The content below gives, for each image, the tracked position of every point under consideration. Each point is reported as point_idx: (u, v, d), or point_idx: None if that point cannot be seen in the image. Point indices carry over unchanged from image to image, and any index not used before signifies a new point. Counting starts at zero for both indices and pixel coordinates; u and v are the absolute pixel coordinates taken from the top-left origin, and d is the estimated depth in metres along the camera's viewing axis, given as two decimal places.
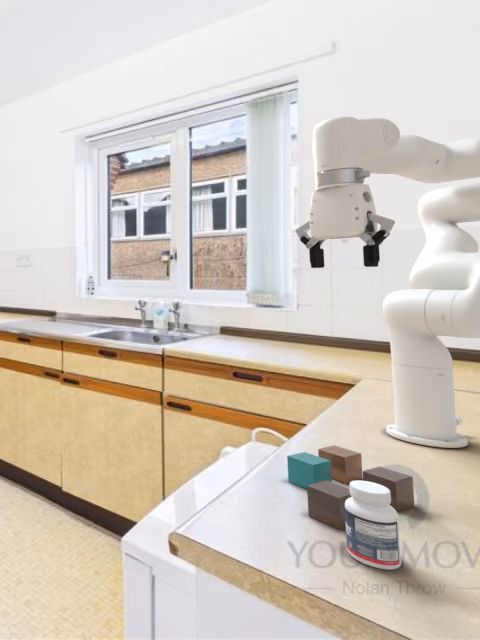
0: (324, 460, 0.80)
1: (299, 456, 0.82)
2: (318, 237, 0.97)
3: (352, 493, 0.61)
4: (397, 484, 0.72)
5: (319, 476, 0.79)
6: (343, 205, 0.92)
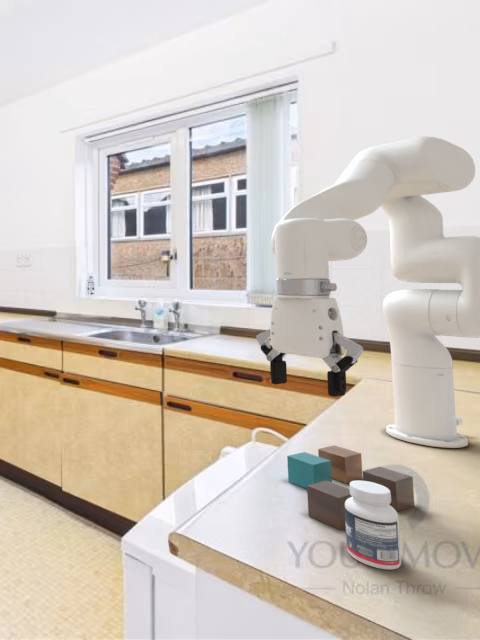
0: (324, 460, 0.80)
1: (299, 456, 0.82)
2: (279, 351, 0.85)
3: (352, 493, 0.61)
4: (397, 484, 0.72)
5: (319, 476, 0.79)
6: (306, 321, 0.80)
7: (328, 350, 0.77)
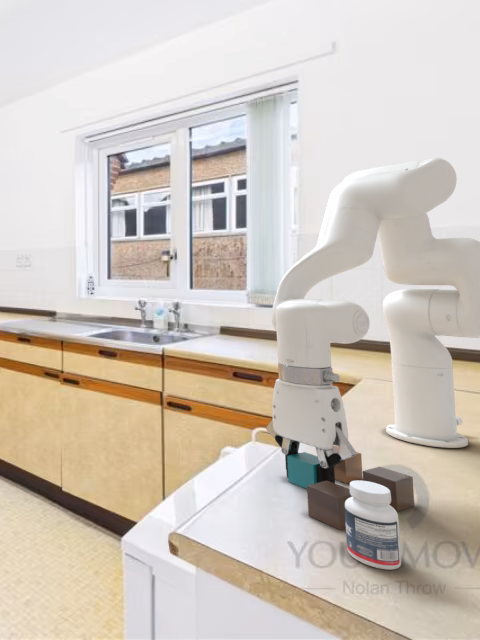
0: None
1: (299, 456, 0.82)
2: (281, 435, 0.84)
3: (352, 493, 0.61)
4: (397, 484, 0.72)
5: None
6: (308, 410, 0.79)
7: (331, 443, 0.76)
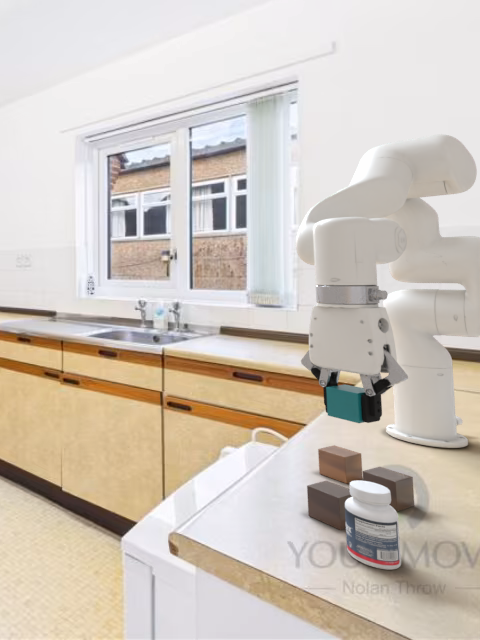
0: None
1: (340, 387, 0.74)
2: (319, 365, 0.76)
3: (352, 493, 0.61)
4: (397, 484, 0.72)
5: None
6: (352, 333, 0.71)
7: (379, 366, 0.69)
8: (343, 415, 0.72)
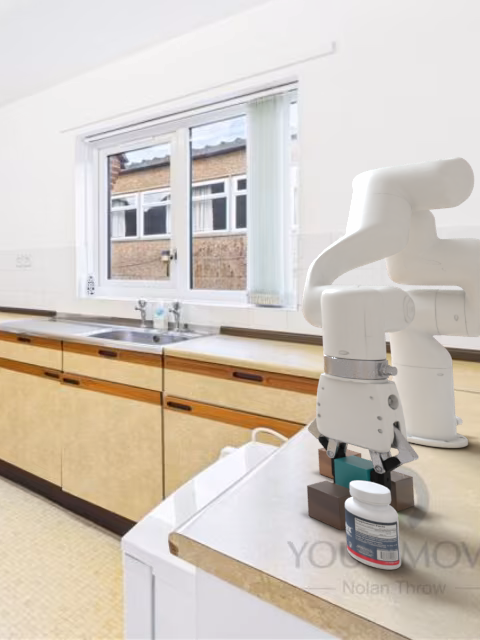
0: None
1: (348, 460, 0.73)
2: (327, 436, 0.75)
3: (352, 493, 0.61)
4: (397, 484, 0.72)
5: None
6: (361, 408, 0.70)
7: (389, 445, 0.67)
8: None
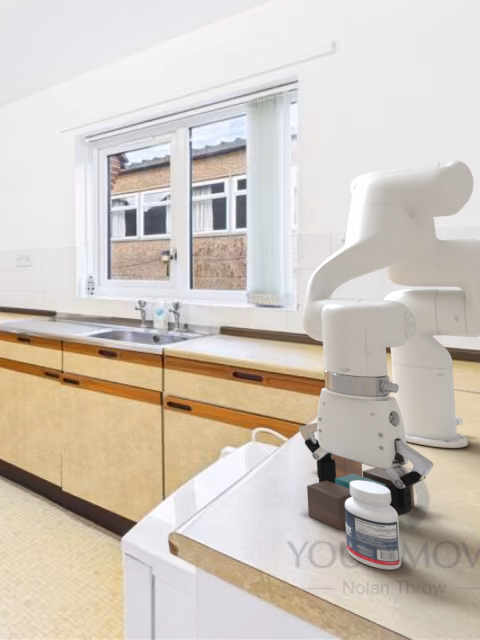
0: None
1: (349, 479, 0.73)
2: (328, 451, 0.75)
3: (352, 493, 0.61)
4: None
5: None
6: (362, 424, 0.70)
7: (390, 462, 0.67)
8: None
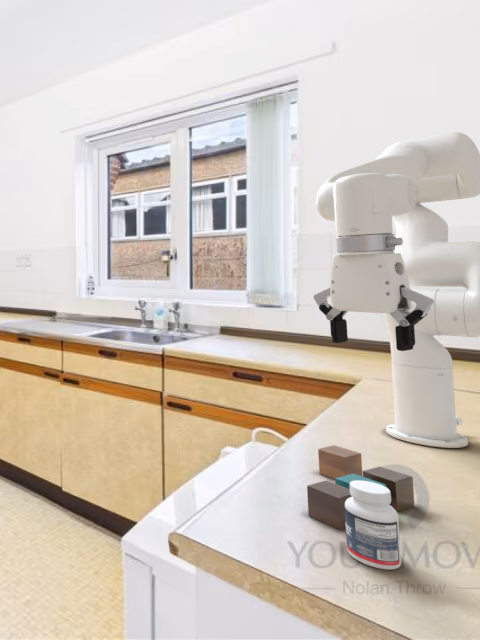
0: None
1: (349, 479, 0.73)
2: (341, 309, 0.84)
3: (352, 493, 0.61)
4: (397, 484, 0.72)
5: None
6: (371, 277, 0.79)
7: (396, 305, 0.77)
8: None
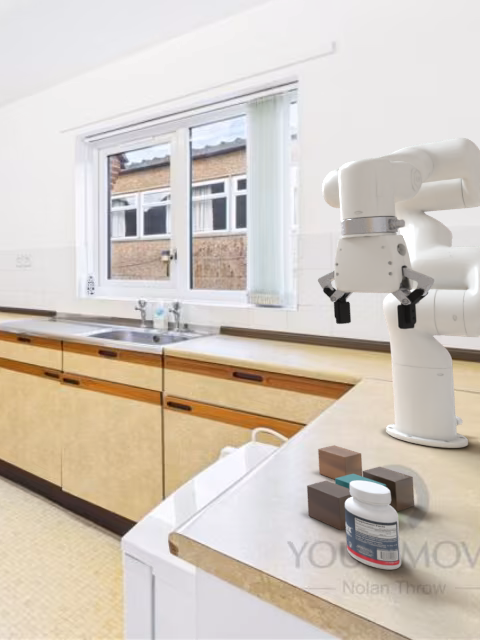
0: None
1: (349, 479, 0.73)
2: (344, 290, 0.87)
3: (352, 493, 0.61)
4: (397, 484, 0.72)
5: None
6: (374, 258, 0.82)
7: (398, 284, 0.80)
8: None
